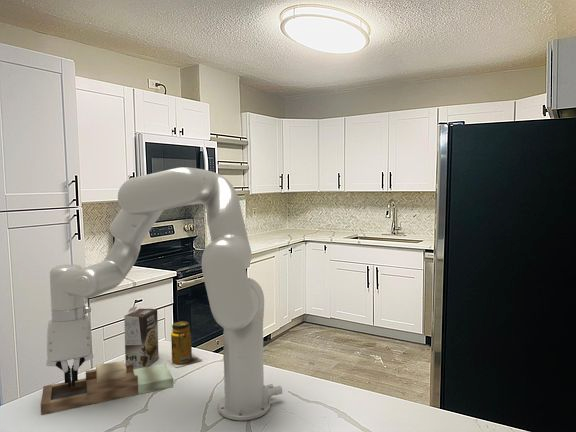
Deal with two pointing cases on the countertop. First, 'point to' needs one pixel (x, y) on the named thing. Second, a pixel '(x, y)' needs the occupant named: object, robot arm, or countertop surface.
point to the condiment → (182, 345)
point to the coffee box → (141, 338)
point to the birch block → (110, 371)
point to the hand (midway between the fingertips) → (71, 384)
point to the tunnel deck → (104, 388)
